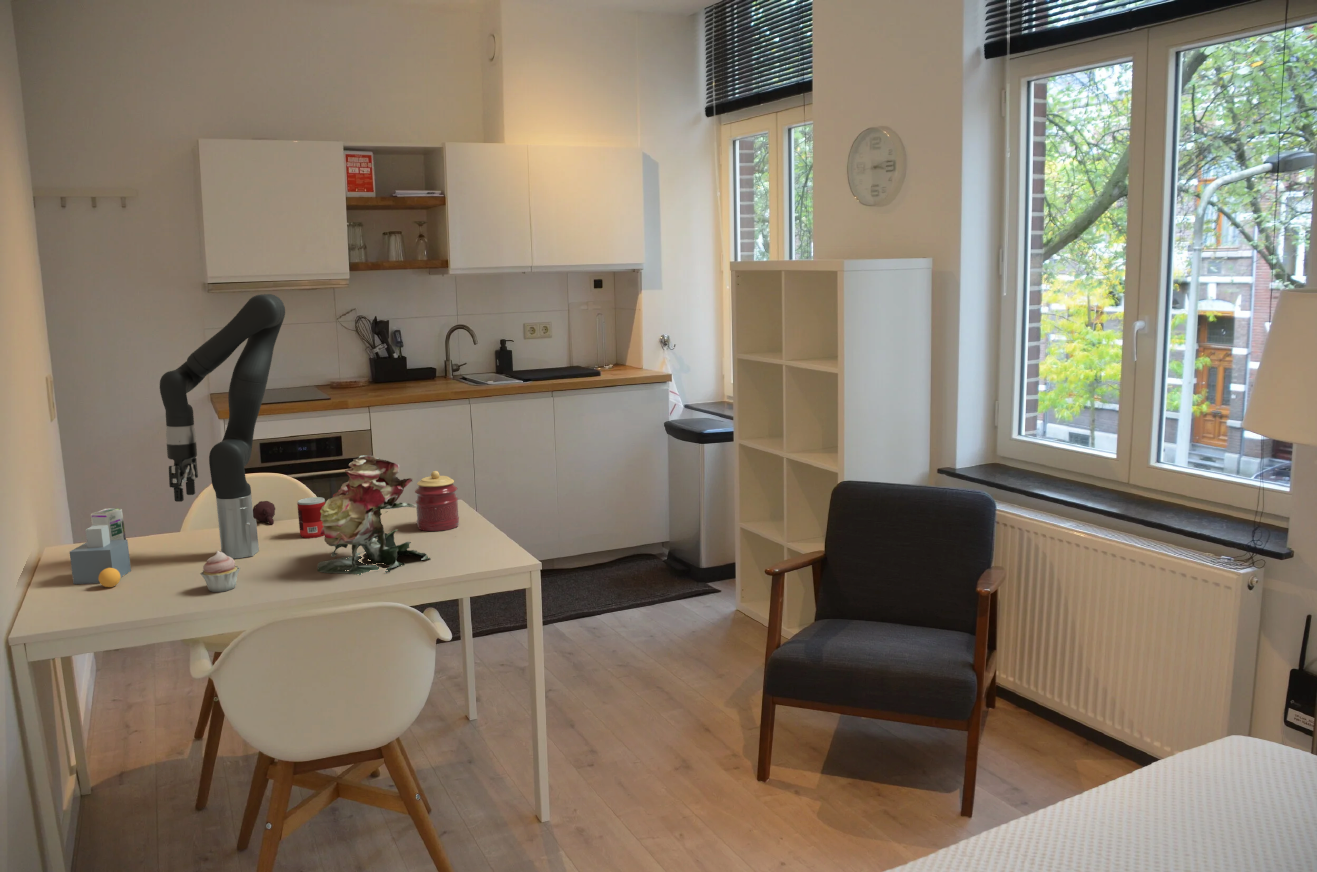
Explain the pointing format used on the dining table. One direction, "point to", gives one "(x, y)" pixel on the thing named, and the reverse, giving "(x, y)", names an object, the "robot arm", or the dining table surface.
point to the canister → (436, 503)
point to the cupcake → (220, 573)
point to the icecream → (264, 511)
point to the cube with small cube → (98, 556)
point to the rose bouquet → (364, 517)
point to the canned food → (310, 517)
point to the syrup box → (110, 522)
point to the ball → (109, 577)
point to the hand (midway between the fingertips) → (185, 497)
